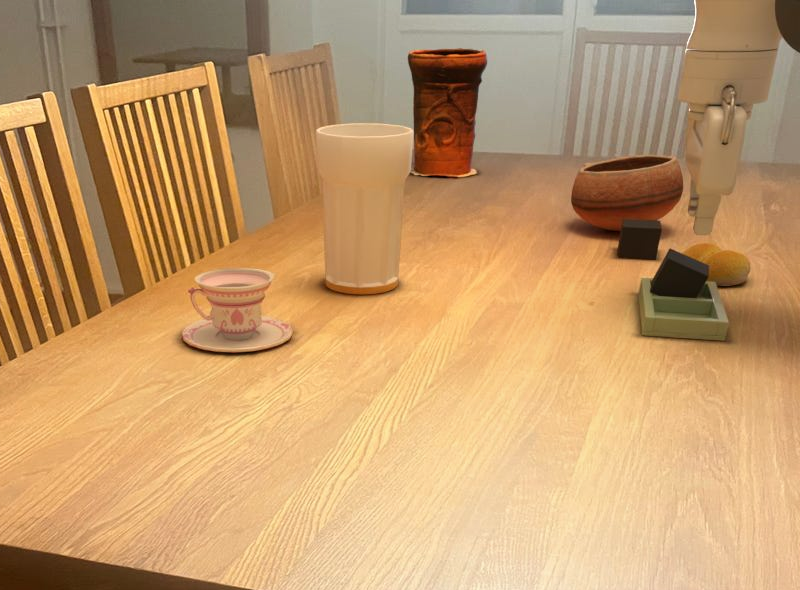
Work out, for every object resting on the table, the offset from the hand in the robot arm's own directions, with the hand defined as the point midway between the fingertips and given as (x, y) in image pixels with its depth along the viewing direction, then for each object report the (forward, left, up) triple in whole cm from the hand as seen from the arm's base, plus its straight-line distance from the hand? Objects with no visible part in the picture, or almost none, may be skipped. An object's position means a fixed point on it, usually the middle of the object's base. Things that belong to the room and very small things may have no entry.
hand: (698, 224), depth 107 cm
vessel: (+40, -81, -9) cm, 91 cm away
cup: (+39, -1, -9) cm, 40 cm away
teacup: (+48, +22, -9) cm, 53 cm away
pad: (+2, 0, -8) cm, 8 cm away
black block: (+5, -24, -9) cm, 26 cm away
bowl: (+7, -39, -9) cm, 41 cm away
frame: (+1, +4, -9) cm, 10 cm away
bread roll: (-4, -14, -9) cm, 17 cm away
